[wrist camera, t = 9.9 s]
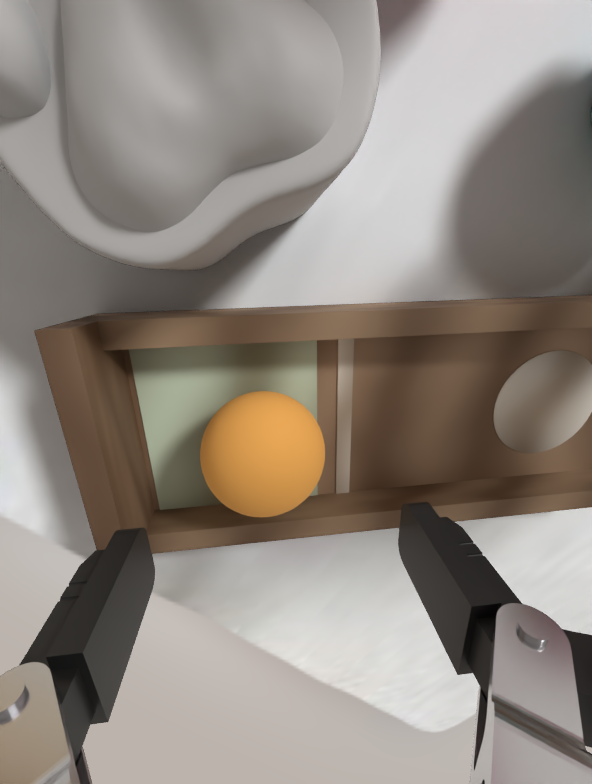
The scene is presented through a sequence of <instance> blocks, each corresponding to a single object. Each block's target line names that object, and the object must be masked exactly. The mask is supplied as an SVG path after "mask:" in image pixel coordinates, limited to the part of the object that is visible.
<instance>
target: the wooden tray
mask: <svg viewBox="0 0 592 784" xmlns="http://www.w3.org/2000/svg"><path fill="white" fill-rule="evenodd" d="M35 335H36V338H37V342H38V345H39V349H40V352H41V356H42V359H43V363H44V366H45V370H46V373H47V377H48V380H49V384H50V387H51V391H52V394H53V398H54V401H55V405H56V408H57V412H58V415H59V419H60V422H61V426H62V429H63V433H64V436H65V440H66V443H67V447H68V450H69V454H70V457H71V461H72V465H73V468H74V472H75V475H76V479H77V482H78V486H79V489H80V493H81V496H82V500H83V503H84V507H85V510H86V514H87V517H88V521H89V524H90V528H91V531H92V535H93V538H94V542H95V545H96V549H97V550H105V549H106V547H107V545H108V543H109V541H110V539H111V538H112V536H113V534H114V533H115V531H117V530H121V529H131V528H142V527H143V528H145V529H146V531H147V535H148V540H149V544H150V548H151V553H152V554H153V553H163V552H172V551H182V550H191V549H200V548H210V547H219V546H229V545H238V544H248V543H257V542H267V541H276V540H285V539H295V538H304V537H314V536H323V535H333V534H342V533H352V532H361V531H370V530H380V529H389V528H399V527H400V518H401V508H402V505H403V504H405V503H416V502H428V503H429V504H430V505H431V506H432V508H433V509H434V510H435V512H436V513H437V514H438V516H439V517H448V518H449V519H451V520H452V521H454V522H455V521H465V520H474V519H484V518H493V517H503V516H512V515H522V514H531V513H540V512H550V511H559V510H569V509H578V508H588V507H592V295H582V296H555V297H529V298H502V299H475V300H449V301H422V302H395V303H369V304H342V305H315V306H289V307H262V308H235V309H209V310H182V311H155V312H129V313H102V314H94V315H91V316H87V317H83V318H80V319H76V320H72V321H68V322H65V323H61V324H57V325H54V326H50V327H46V328H43V329H39V330H35ZM256 391H271V392H277V393H281V394H284V395H287V396H289V397H291V398H293V399H295V400H297V401H298V402H299V403H301V404H302V405H303V406H304V407H305V408H306V409H307V410H308V411H309V412H310V413H311V414H312V415H313V417H314V418H315V420H316V422H317V423H318V425H319V427H320V429H321V432H322V435H323V439H324V444H325V462H324V467H323V471H322V474H321V477H320V480H319V481H318V483H317V485H316V487H315V488H314V490H313V491H312V493H311V494H310V495H309V496H308V497H307V498H306V499H305V500H304V501H303V502H302V503H301V504H299V505H298V506H297V507H295V508H294V509H292V510H290V511H288V512H286V513H283V514H280V515H277V516H272V517H251V516H246V515H243V514H240V513H238V512H235V511H233V510H232V509H230V508H228V507H227V506H225V505H224V504H223V503H221V502H220V501H219V500H218V499H217V498H216V496H215V495H214V494H213V493H212V491H211V490H210V488H209V487H208V485H207V483H206V481H205V478H204V475H203V473H202V468H201V462H200V449H201V442H202V438H203V435H204V432H205V430H206V427H207V425H208V424H209V422H210V420H211V419H212V417H213V416H214V415H215V414H216V412H217V411H218V410H219V409H220V408H221V407H222V406H224V405H225V404H226V403H228V402H229V401H230V400H232V399H234V398H236V397H238V396H241V395H243V394H246V393H250V392H256Z"/></svg>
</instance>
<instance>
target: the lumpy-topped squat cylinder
mask: <svg viewBox="0 0 592 784" xmlns="http://www.w3.org/2000/svg"><path fill="white" fill-rule="evenodd" d="M380 63H381V43H380V26H379V17H378V7H377V2H376V0H0V162H1V163H2V164H3V166H4V167H5V168H6V170H7V171H8V172H9V173H10V175H11V176H12V177H13V178H14V180H15V181H16V182H17V183H18V184H19V186H20V187H21V188H22V189H23V190H24V191H25V193H26V194H27V195H28V196H29V197H30V199H31V200H32V201H33V202H34V203H35V205H36V206H37V207H38V208H39V209H40V210H41V211H42V212H43V213H44V214H45V215H46V216H47V217H48V218H49V219H50V220H51V221H52V222H53V223H54V224H55V225H56V226H57V227H58V228H59V229H61V230H62V231H63V232H64V233H65V234H66V235H68V236H69V237H70V238H71V239H73V240H74V241H76V242H77V243H79V244H80V245H82V246H84V247H85V248H87V249H89V250H91V251H93V252H95V253H97V254H99V255H101V256H103V257H106V258H108V259H111V260H114V261H117V262H120V263H123V264H127V265H130V266H135V267H140V268H149V269H168V270H198V269H203V268H206V267H209V266H211V265H213V264H215V263H217V262H218V261H220V260H221V259H222V258H224V257H225V256H226V255H228V254H229V253H230V252H231V251H232V250H234V249H235V248H236V247H237V246H239V245H240V244H241V243H242V242H244V241H245V240H247V239H248V238H250V237H252V236H254V235H256V234H258V233H260V232H262V231H265V230H268V229H271V228H274V227H277V226H279V225H282V224H285V223H287V222H290V221H292V220H294V219H296V218H298V217H299V216H301V215H302V214H304V213H305V212H306V211H307V210H308V209H309V208H310V207H311V206H312V205H313V204H314V202H315V201H316V200H317V199H318V198H319V197H320V196H321V194H322V193H323V192H324V191H325V190H326V189H327V188H328V187H329V185H330V184H331V183H332V182H333V181H334V180H335V179H336V178H337V177H338V175H339V174H340V173H341V172H342V170H343V169H344V168H345V167H346V166H347V165H348V164H349V162H350V161H351V160H352V158H353V157H354V156H355V154H356V152H357V151H358V149H359V147H360V145H361V143H362V141H363V138H364V136H365V134H366V131H367V129H368V126H369V123H370V120H371V117H372V113H373V109H374V104H375V100H376V95H377V90H378V85H379V75H380Z"/></svg>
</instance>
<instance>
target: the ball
mask: <svg viewBox="0 0 592 784" xmlns="http://www.w3.org/2000/svg"><path fill="white" fill-rule="evenodd" d="M200 462H201V468H202V473H203V475H204V478H205V481H206V483H207V485H208V487H209V488H210V490H211V491H212V493H213V494H214V495H215V496H216V498H217V499H218V500H219V501H220V502H221V503H223V504H224V505H225V506H227V507H228V508H230V509H232V510H233V511H235V512H238V513H240V514H243V515H246V516H251V517H272V516H277V515H280V514H283V513H286V512H288V511H290V510H292V509H294V508H295V507H297V506H298V505H299V504H301V503H302V502H303V501H304V500H305V499H306V498H307V497H308V496H309V495H310V494H311V493H312V491H313V490H314V488H315V487H316V485H317V483H318V481H319V480H320V477H321V474H322V471H323V467H324V462H325V444H324V439H323V435H322V432H321V429H320V427H319V425H318V423H317V422H316V420H315V418H314V417H313V415H312V414H311V413H310V412H309V411H308V410H307V409H306V408H305V407H304V406H303V405H302V404H301V403H299V402H298V401H297V400H295V399H293V398H291V397H289V396H287V395H284V394H281V393H277V392H271V391H256V392H250V393H246V394H243V395H241V396H238V397H236V398H234V399H232V400H230V401H229V402H228V403H226V404H225V405H224V406H222V407H221V408H220V409H219V410H218V411H217V412H216V414H215V415H214V416H213V417H212V419H211V420H210V422H209V424H208V425H207V427H206V430H205V432H204V435H203V438H202V442H201V449H200Z"/></svg>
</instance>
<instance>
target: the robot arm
mask: <svg viewBox="0 0 592 784" xmlns="http://www.w3.org/2000/svg"><path fill="white" fill-rule="evenodd" d="M398 545H399V552H400V556H401V559H402V562H403V564H404V566H405V568H406V570H407V572H408V574H409V576H410V578H411V580H412V582H413V584H414V586H415V588H416V591H417V593H418V595H419V597H420V599H421V601H422V603H423V605H424V607H425V609H426V611H427V613H428V615H429V617H430V619H431V621H432V623H433V625H434V627H435V629H436V631H437V633H438V635H439V638H440V640H441V642H442V644H443V646H444V648H445V650H446V652H447V654H448V656H449V658H450V660H451V662H452V664H453V666H454V668H455V670H456V672H457V674H458V675H460V674H467V673H473V674H474V676H475V677H476V679H477V681H478V683H479V685H480V686H479V691H478V699H477V710H476V721H475V732H474V742H473V754H472V764H471V774H470V783H469V784H592V754H591V753H589V752H587V751H586V748H585V746H589V747H592V635H588V634H582V633H577V632H572V631H568V630H564V629H561V628H560V626H559V625H558V624H557V623H556V622H555V621H553V620H552V619H551V618H550V617H548V616H547V615H546V614H544V613H543V612H541V611H539V610H537V609H535V608H533V607H531V606H528V605H524V604H522V603H521V602H520V601H519V599H518V598H517V597H516V595H515V594H514V593H513V592H512V590H511V589H510V588H509V587H508V585H507V584H506V583H505V581H504V580H503V579H502V578H501V576H500V575H499V574H498V573H497V571H496V570H495V569H494V567H493V566H492V565H491V564H490V562H489V561H488V560H487V559H486V557H485V556H483V555H482V552H481V551H480V550H479V548H478V547H477V546H476V545H475V544H473V541H472V539H471V538H470V537H469V536H468V534H467V533H466V532H465V531H464V529H463V528H462V527H461V526H459V525H458V524H456V523H455V522H454V521H452V520H451V519H449V518H448V517H439V516H438V514H437V513H436V512H435V510H434V509H433V508H432V506H431V505H430V504H429V503H428V502H416V503H405V504H403V505H402V508H401V518H400V528H399V539H398ZM154 579H155V567H154V562H153V557H152V553H151V548H150V544H149V540H148V535H147V531H146V529H145V528H143V527H142V528H131V529H121V530H117V531H115V533H114V534H113V536H112V538H111V539H110V541H109V543H108V545H107V547H106V549H105V550H96V551H95V552H94V553H93V554H92V555H91V556H90V557H89V558H88V559H87V560H85V561H84V563H82V564H81V565H80V566H79V568H78V570H77V571H76V573H75V575H74V576H73V578H72V580H71V581H70V583H69V587H67V588H66V590H65V591H64V593H63V594H62V596H61V599H60V602H58V603H57V604H56V606H55V608H54V609H53V611H52V613H51V614H50V616H49V618H48V619H47V621H46V622H45V624H44V626H43V627H42V629H41V631H40V632H39V634H38V636H37V637H36V639H35V641H34V642H33V644H32V645H31V647H30V649H29V651H28V652H27V654H26V655H25V657H24V659H23V660H22V662H21V664H20V665H19V666H17V667H15V668H13V669H11V670H9V671H7V672H6V673H4V674H3V675H1V676H0V784H92V780H91V776H90V773H89V769H88V765H87V761H86V757H85V753H84V750H83V747H82V745H83V742H84V740H85V737H86V734H87V731H88V729H89V726H90V724H97V723H104V722H108V721H109V717H110V715H111V712H112V708H113V706H114V703H115V699H116V697H117V694H118V691H119V687H120V684H121V681H122V679H123V676H124V673H125V670H126V667H127V664H128V661H129V658H130V655H131V652H132V649H133V645H134V643H135V640H136V637H137V634H138V631H139V628H140V625H141V622H142V619H143V616H144V613H145V610H146V607H147V604H148V601H149V598H150V595H151V592H152V589H153V585H154Z"/></svg>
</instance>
